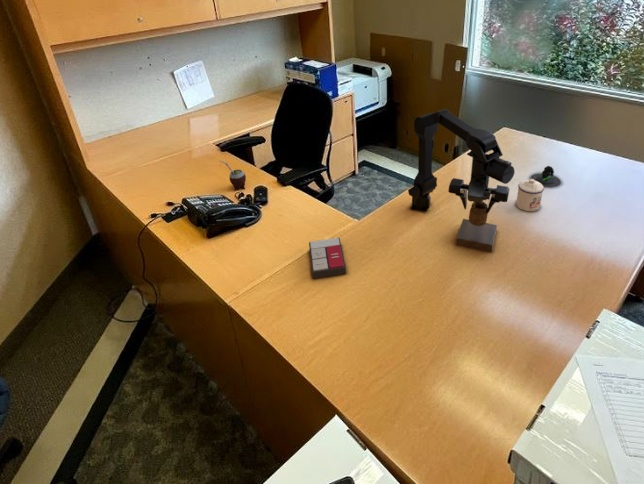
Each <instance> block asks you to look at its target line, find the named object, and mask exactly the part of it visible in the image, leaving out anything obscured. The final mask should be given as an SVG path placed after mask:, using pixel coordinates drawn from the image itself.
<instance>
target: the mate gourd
mask: <svg viewBox="0 0 644 484" xmlns="http://www.w3.org/2000/svg"><path fill="white" fill-rule="evenodd" d="M219 162H221V163H223V164H225V165H226V167H227V168H228V169H229V170H230V173H229V177H228V178H229V182H230V183H231V185H232V187H233V190H234V191H238V190H239V189H241V190H245V189H246V187H245V185H246V180H247V177H246V176H247V175H246V174H245V172H244V170H242V169H235V170H234V169H232V168H231V167H230V164H229V163H227V162H226V161H224V160H219Z"/></svg>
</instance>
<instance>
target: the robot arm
mask: <svg viewBox="0 0 644 484" xmlns="http://www.w3.org/2000/svg"><path fill="white" fill-rule="evenodd" d="M439 125H440V126H441V127H444V128H445V129H446V130H447V131H449V132H451V133H452V134H454V135H455V136H457V137H458V138H460V139H461V140H463V141H464V143H465V145H466V147H467V148H468V149H469V150H470V151H469V152H467V154H466V155H467V156H469V157H471V158H472V161H471V170H470V180H469V183H468V184H467V183H465V180H464V179H461V178H455V177H453V178H452V179H451V180H450V182H449V185H448V193H449V194H455V196H456V197H459V198H460V201H461V203H462V206H463V210H467V207H468V202H471V203H473V202H478V203H482V202H484V201H486V200H488V204H489V205H488V204H487V206H488V209H487V214H488V215H489V213H490V211H491V209H492V208H493V206H494V205H495V204H496V203H498V204H499V203H500V202H501V203H507V202H508V200H509V196H510V187H509V186H506V184H509V183H510V182H511V181H512V179H513V178H514V175H515V173H516V172H515V168H514V166H512V165H513V164H512V162H511V161H509V160H505V159H503V158H501V157H502V156H503V155H504V154H503V152H502V149H501V148H500V146H499V143H498V141H497V138H496V135H494V133H492V132H490V131H487V130H485V129H481V128H475V127H473V126H471V125H470V124H468V123H467V122H465V121H463V119H461V118H459V117H458V116H456V115H454V114H453V113H451V111H450V110H449V109H447V108H442V109H439V110H437V111H435V112H428V113H425V114H422V115H419V116H416V118H414V120H413V129H414V134H415V135H416V136H417V138H418V159H417V160H418V161H417V162H418V166H417V167H418V169H417V173H416V175H415V177H414V179H413V186H412V187H410V188H409V189H408V190H407V193H408V195H409V196H410V197H411V206H410V210H414V211H417V212H423V213H424V212H425V213H427V211H428V209H429V208H430V206H431V202H432V201H431V196H430V193H433V192H434V190H436V188H437V187H438V178H437V176H435V175H434V174H433V171H432V169H433V139H434V137H435V135H436V133H437V131H438V127H439ZM491 151H492V152H491ZM489 152H490V153H489ZM490 178H491V179H493V180H495V181H497V182H500V183H502V184H505V185H499V184H497V185H496V187H489V183H490ZM489 199H490V200H489Z"/></svg>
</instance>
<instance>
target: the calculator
mask: <svg viewBox="0 0 644 484" xmlns="http://www.w3.org/2000/svg"><path fill="white" fill-rule="evenodd" d="M308 248H309V255H310V265H311V273H312V279H314V280H316V279H322V278H328V277H333V276H341V275H346V274H347V266H346V262H345V256H344V251H343V247H342V243H341V238H340V237H334V238H327V239H321V240H313V241H309V242H308Z"/></svg>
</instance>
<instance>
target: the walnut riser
mask: <svg viewBox="0 0 644 484" xmlns="http://www.w3.org/2000/svg"><path fill="white" fill-rule="evenodd" d="M497 230H498V225H497V224H494V223H488V222H486V223H485V225H483V226H474V225H472V224H471V223H470V222H469V219H466V218H463V219H462V220H461V224H460V227H459V229H458V232H457V236H456V239H455V240H456V241H455V245H456V246H461V247H466V248H470V249H475V250H480V251H483V252H490V253H492V252H493V248H494V243H495V239H496V236H497V235H496V234H497Z"/></svg>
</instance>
